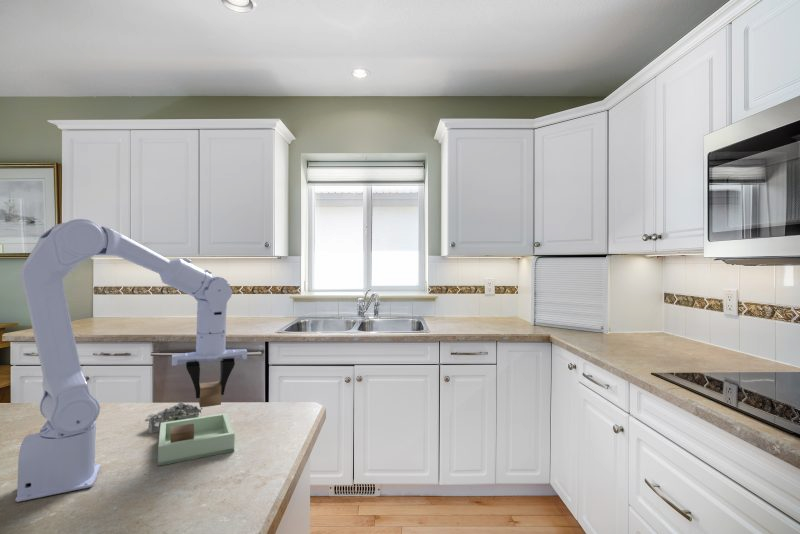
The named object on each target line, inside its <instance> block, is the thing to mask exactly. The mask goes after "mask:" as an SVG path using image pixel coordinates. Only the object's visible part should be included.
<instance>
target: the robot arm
mask: <svg viewBox="0 0 800 534" xmlns="http://www.w3.org/2000/svg"><path fill="white" fill-rule="evenodd" d="M94 256H115V257H118V258H121V259H123V260H126V261H128V262H130V263H133V264H135V265H137V266H140V267H143V268H145V269H147V270H149V271H150V272H151V271H152V272H155V273H157V274H158V275H159V277H160V280H161V281H162V283H163V284H165V285H167V286H169V287H171V288H173V289H176V290H178V291H180V292H183V293H184V294H187V295H189V296H192V297H193V298H194V299H195V301H196V302H197V303H196V304H197V305H196V307H197V310H196V337H195V339H196V341H195V342H196V344H195V351H192V352H185V353H178V354H177V353H175V354H171V366H173V367H174V366H175V367H176V366H178V365H185V366H186V367H185V368H186V370H187V372H188V374H189V376H190V378H191V381H192V383H193V387H194V390H195V391H194V392H195V399H199V398H200V385H199V383H200V376H201V374H200V373H201V364H200V363H209V362H219V361H220V363H219V365H220V376H219V377H220V378H219V381H220V383H221V396H223V395H224V394H225V390H226V385H227V383H228V381H229V377H230V375H231V373H232V371H233V369H234V367H235V364H236V362H235V360H247V359H248V350H247V349H246V348H243V349H242V348H241V349H226V342H227V341H226V338H227V337H226V335H227V332H226V331H227V308H228V307H227V305H228V302H229V300H230V299H231V298H232V294H233V289H231V284H230V283H229V281H227V279H225V278H224V277H220V276H213V275H212V271H211V270H208V269H207V270H206V269H205V270H203V269H202V268H200V267H199V266H196V265H194V264H192V260H191V259H189V258H188V257H186V258H180V257H176V258H172V259H168V258H166V257H164V256H162V255H161V254H158V252H155V251H153V250H152V249H149V248H148V247H146V246H145V245H142V244H141V243H139V242H136V241H135V240H133V239H131V238H129V237H127V236H125V235H124V234H122V233H120V232H118V231H116V230H114V229H112V228H109V227H106V226H103V225H102V226H100V225H99V224H98V223H96V222H94V221H92V220H90V219H87V218H86V219H84V218H75V219H71V220H68V221H66V222H62V223H58V224H56V225H54V226H52V227H51V228H49V229H48V230H47V231H45V232H44V233H43V234H41V235H40V236H39V237H38V240H37V242H36V243H35V246H34V247H33V248H32V250H31V252H30V253H29V256H28V257H27V258H26V260H25V262H24V263H23V265H22V266H21V268H20V278H21V283H22V288H23V292H24V296H25V300H26V301H25V302H26V306H27V310H28V314H29V318H30V323H31V328H32V332H33V336H34V340H35V345H36V349H37V350H36V351H37V354H38V359H39V363H40V368H41V373H42V382H41V383H42V384H41V385H42V389H43V395H42V397H41V399H40V403H39V411H40V413H41V415H42V417H44V418H45V419H47V420H46V422H45V423H44V424H43V426H42V427H41V428H40V430H39V432H37V433H36V432H35V433H32V434H28V435H25V436H24V437H23V440H22V442H21V444H20V447H19V448H20V449H19V453H18V461H17V462H18V463H17V464H18V465H17V486H16V488H17V490H16V491H17V492H16V497H15V502H18V503H19V502H24V501H28V500H33V499H40V498H43V497H48V496H53V495H58V494H64V493H68V492H73V491H77V490H82V489H83V490H84V489H88V488H92V487H93V486H94V484H95V482H96V479H97V476H98V474H99V471H100V468H101V463H95V462H96V431H97V430H96V429H97V419H98V417H99V414H100V412H101V411H100V410H101V409H100V408H101V406H100V402H99V401H98V399H97V398H96V397H94V396H93V395H92V393H91V392H90V388H89V385H88V383H87V380H86V378H85V375H84V372H83V371H82V368H81V367H82V366H81V362H80V358H79V353H78V347H77V343H76V338H75V334H74V329H73V325H72V320H71V314H70V311H69V306H68V301H67V296H66V291H65V286H64V281H63V279H64V278H65V277H66V276H67V275H68V274H69V273H71V271H72V270H74V269H75V267H76V266H77V265H79V264H80V263H82V262H84V261H86V260H88V259H90V258H92V257H94Z"/></svg>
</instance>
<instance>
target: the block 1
mask: <svg viewBox="0 0 800 534" xmlns="http://www.w3.org/2000/svg"><path fill="white" fill-rule="evenodd" d="M189 439H194V424H187V425H181V426H174V427H171V437H170V443H172V442H178V441H183V440H189Z"/></svg>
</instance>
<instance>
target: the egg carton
mask: <svg viewBox="0 0 800 534" xmlns="http://www.w3.org/2000/svg"><path fill="white" fill-rule="evenodd" d="M202 411H203V407H201V408H199V407H198V406H197V405H195V406H194V405H192V404H191V405H190V404H188V403H187V404H185V403H184V402H183V401H182V402H181V401H180V402H179V403H177V404H175V405H174V406H172V407H169V408H168V407H167V408H164V409H163V410H162V411H159V412H156V413H151V414H149V415H147V416H146V418H145V420H144V422H145V423H147V422H148V433H151V434H152V433H157V432H160V425H161V423H163V422H170V421H176V420H183V419H190V418H196V417H200V416H199V415H200V414H201V413H202Z"/></svg>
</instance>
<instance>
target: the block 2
mask: <svg viewBox="0 0 800 534" xmlns="http://www.w3.org/2000/svg"><path fill="white" fill-rule="evenodd" d="M199 385H200V398H198V404H199V409H201V408H206V407H207V408H208V407H214V406H219V405H220V406H221V405H222V395H221V383H220V380H217V381H210V382H199Z"/></svg>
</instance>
